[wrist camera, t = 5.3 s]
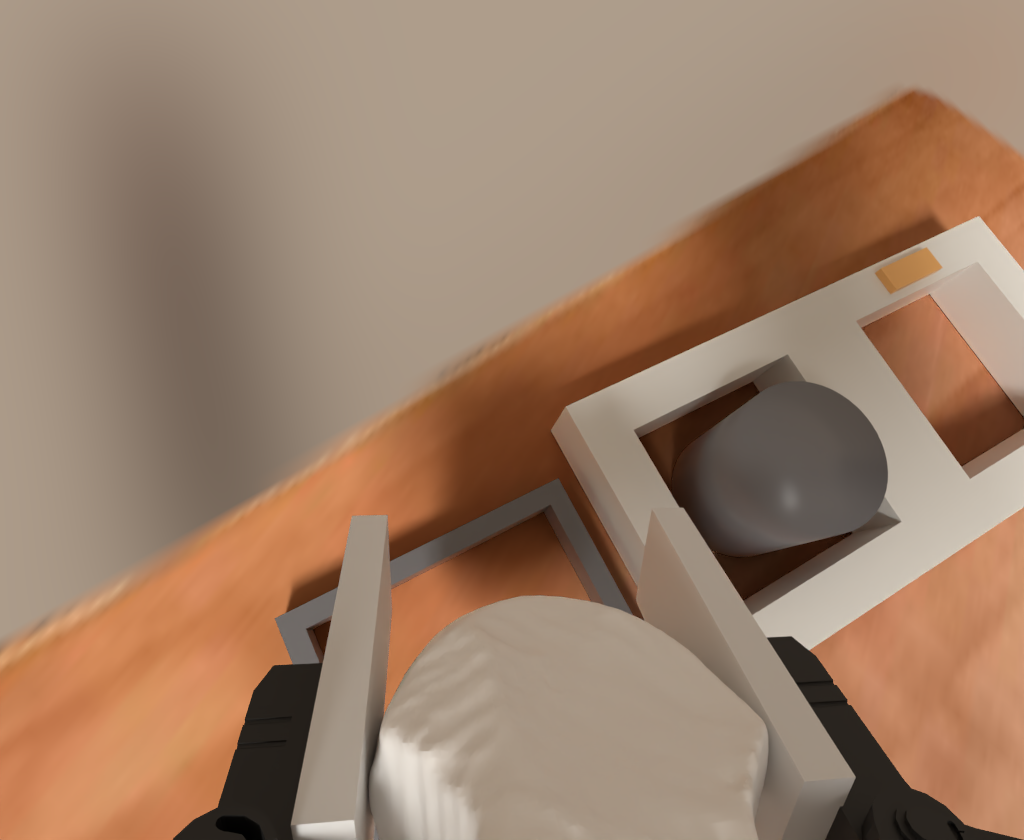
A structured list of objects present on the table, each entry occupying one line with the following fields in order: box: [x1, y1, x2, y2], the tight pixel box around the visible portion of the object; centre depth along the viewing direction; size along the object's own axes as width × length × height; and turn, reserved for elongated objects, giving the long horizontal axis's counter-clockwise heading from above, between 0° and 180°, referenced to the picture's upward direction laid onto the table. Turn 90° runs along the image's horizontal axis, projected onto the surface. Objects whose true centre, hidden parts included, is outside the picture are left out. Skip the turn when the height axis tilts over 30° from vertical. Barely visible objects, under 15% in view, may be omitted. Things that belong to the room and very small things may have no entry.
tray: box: [275, 478, 633, 840], centre depth 23 cm, size 12×12×2 cm
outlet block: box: [551, 216, 1024, 650], centre depth 26 cm, size 12×24×6 cm, turn 118°
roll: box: [369, 595, 768, 840], centre depth 11 cm, size 6×12×6 cm
